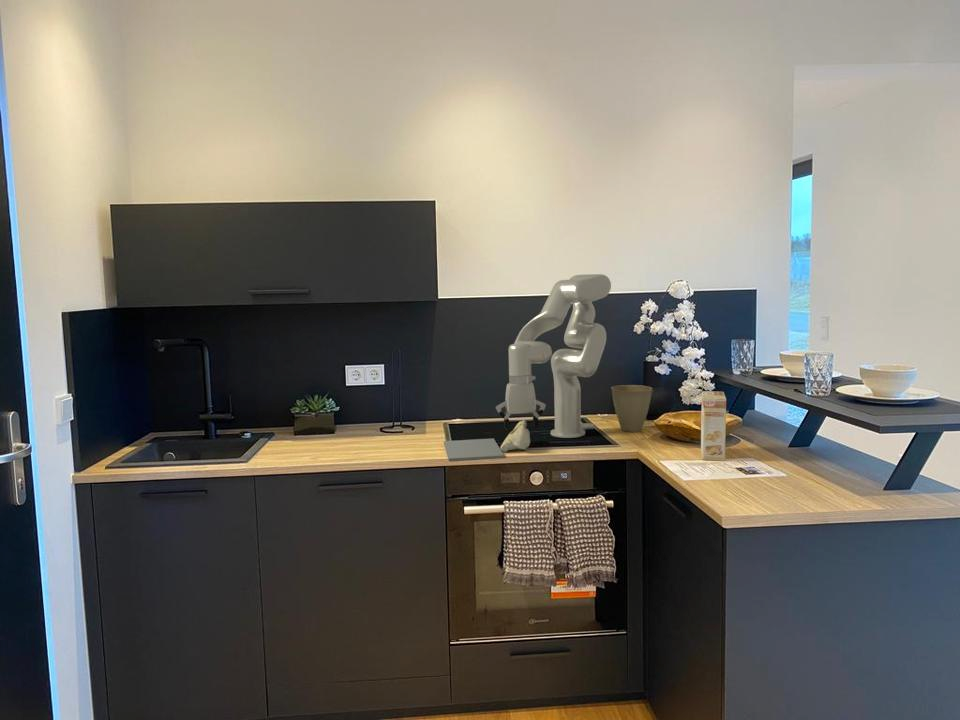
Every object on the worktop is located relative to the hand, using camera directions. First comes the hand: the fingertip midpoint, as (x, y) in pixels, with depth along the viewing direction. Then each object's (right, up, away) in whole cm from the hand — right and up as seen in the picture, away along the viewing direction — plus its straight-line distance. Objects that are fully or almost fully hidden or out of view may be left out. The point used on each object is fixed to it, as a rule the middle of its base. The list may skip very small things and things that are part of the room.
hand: (521, 429), depth 237 cm
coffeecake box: (+61, -7, -15) cm, 63 cm away
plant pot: (+43, -3, +23) cm, 49 cm away
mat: (-17, -7, -1) cm, 18 cm away
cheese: (-2, -7, +1) cm, 7 cm away
